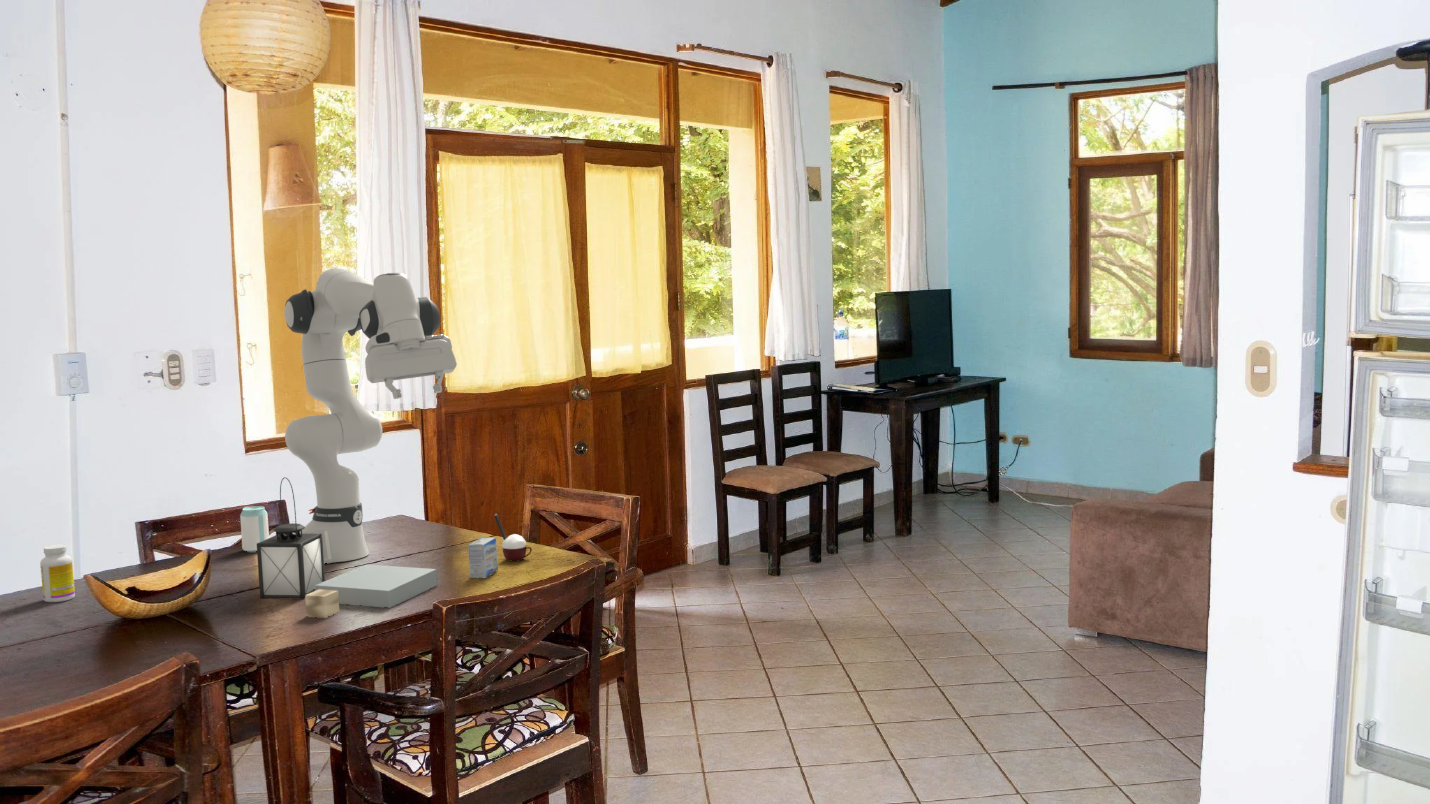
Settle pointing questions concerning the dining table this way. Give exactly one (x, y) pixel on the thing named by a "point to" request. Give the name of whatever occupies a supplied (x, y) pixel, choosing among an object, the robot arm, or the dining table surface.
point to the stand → (380, 585)
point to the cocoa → (513, 545)
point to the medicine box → (482, 557)
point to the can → (253, 527)
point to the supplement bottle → (57, 574)
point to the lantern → (290, 561)
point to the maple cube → (322, 603)
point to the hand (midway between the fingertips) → (418, 395)
